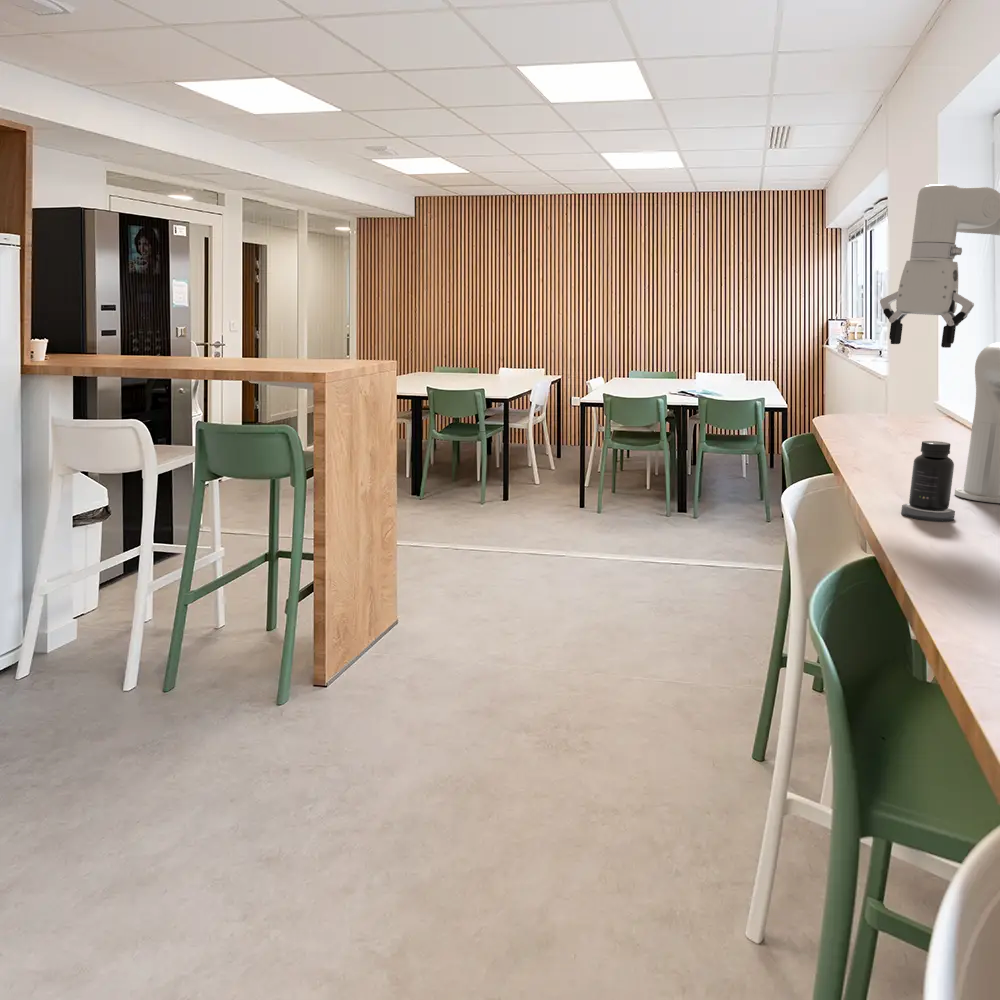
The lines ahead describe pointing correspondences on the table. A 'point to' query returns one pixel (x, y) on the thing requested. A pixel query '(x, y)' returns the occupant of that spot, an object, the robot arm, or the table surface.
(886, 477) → the table surface
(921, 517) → the plate
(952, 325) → the robot arm
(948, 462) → the supplement bottle
